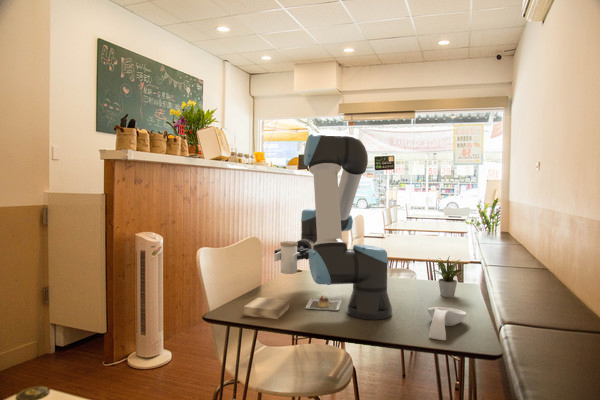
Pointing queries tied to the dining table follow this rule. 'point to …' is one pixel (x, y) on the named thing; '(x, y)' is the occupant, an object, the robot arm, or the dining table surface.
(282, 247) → the canister
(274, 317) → the base
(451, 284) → the house plant
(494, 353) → the dining table surface
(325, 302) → the dessert
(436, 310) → the spoon rest
